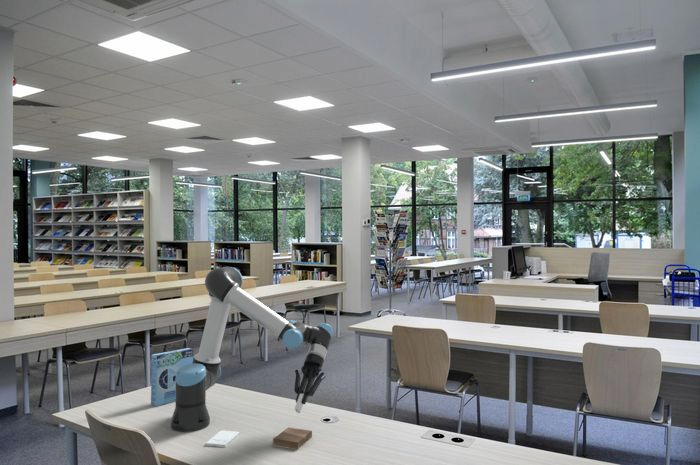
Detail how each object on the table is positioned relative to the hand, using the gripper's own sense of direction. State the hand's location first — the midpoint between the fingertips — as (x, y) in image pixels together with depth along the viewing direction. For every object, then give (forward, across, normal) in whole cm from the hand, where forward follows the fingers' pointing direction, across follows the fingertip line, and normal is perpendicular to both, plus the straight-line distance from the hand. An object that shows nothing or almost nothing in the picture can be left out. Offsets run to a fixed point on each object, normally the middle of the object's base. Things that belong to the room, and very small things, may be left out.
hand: (297, 411), depth 188 cm
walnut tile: (+5, 0, -8) cm, 9 cm away
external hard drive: (+16, +26, +1) cm, 30 cm away
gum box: (-7, +75, -21) cm, 78 cm away
